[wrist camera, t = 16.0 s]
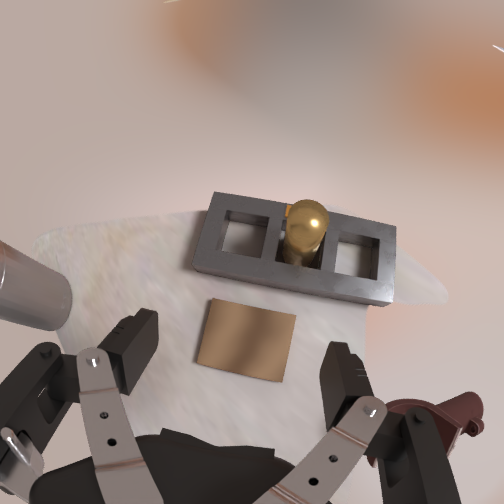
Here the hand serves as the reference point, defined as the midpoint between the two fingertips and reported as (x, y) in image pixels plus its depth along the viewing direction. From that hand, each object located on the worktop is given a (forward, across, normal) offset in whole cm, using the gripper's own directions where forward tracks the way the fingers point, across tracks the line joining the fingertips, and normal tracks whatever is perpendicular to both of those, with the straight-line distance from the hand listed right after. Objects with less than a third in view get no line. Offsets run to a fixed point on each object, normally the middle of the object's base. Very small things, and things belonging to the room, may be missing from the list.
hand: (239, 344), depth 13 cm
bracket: (+11, -23, +19) cm, 31 cm away
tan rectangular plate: (+17, 0, +12) cm, 21 cm away
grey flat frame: (+24, -5, +3) cm, 25 cm away
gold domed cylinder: (+24, -5, +3) cm, 25 cm away
